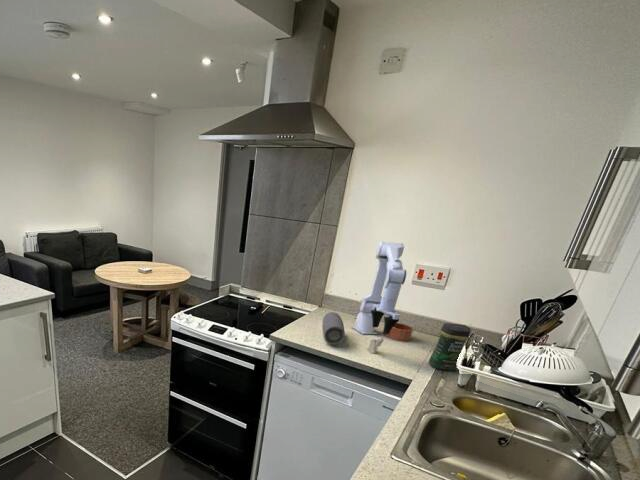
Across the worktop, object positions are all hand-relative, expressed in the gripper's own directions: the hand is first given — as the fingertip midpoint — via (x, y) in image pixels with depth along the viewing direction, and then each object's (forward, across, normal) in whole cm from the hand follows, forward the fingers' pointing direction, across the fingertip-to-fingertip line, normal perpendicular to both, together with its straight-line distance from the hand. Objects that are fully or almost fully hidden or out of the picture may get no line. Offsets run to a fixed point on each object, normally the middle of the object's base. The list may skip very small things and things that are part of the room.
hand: (380, 330), depth 164 cm
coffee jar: (+11, +14, +22) cm, 28 cm away
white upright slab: (+11, 0, 0) cm, 11 cm away
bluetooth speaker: (+11, -16, -12) cm, 23 cm away
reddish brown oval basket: (+10, -20, +26) cm, 34 cm away
